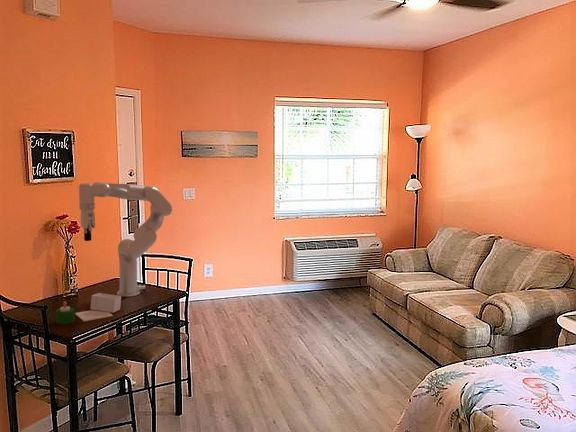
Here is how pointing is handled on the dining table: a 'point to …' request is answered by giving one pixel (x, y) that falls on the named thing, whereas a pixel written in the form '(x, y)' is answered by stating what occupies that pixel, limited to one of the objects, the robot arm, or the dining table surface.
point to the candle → (65, 314)
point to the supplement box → (105, 302)
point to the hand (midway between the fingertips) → (87, 240)
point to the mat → (93, 315)
